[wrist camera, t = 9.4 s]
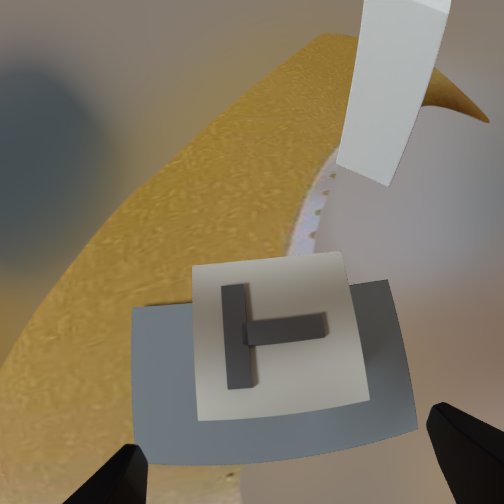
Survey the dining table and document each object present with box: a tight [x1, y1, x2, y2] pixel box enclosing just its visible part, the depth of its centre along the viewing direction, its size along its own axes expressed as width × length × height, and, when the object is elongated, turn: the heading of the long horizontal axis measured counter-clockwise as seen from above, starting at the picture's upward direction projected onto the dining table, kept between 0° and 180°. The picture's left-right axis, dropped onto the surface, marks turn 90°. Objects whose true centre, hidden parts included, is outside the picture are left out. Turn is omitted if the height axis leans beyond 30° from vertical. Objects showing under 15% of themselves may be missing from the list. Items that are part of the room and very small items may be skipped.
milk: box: [336, 0, 451, 187], centre depth 21 cm, size 6×6×22 cm
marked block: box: [192, 251, 370, 421], centre depth 15 cm, size 5×5×13 cm
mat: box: [131, 280, 418, 465], centre depth 21 cm, size 12×20×1 cm, turn 96°
